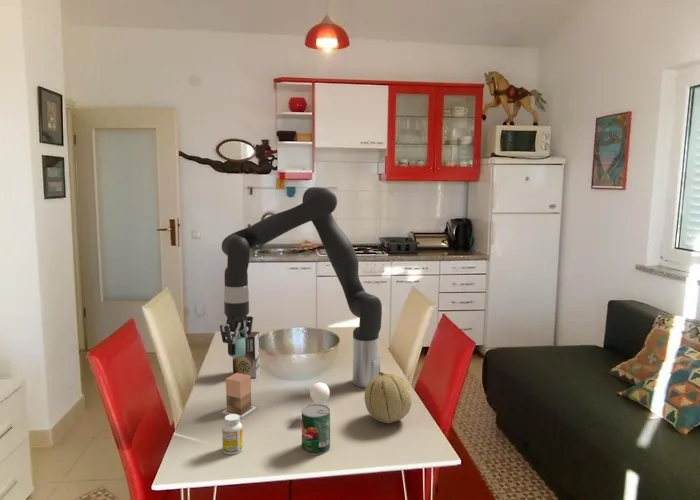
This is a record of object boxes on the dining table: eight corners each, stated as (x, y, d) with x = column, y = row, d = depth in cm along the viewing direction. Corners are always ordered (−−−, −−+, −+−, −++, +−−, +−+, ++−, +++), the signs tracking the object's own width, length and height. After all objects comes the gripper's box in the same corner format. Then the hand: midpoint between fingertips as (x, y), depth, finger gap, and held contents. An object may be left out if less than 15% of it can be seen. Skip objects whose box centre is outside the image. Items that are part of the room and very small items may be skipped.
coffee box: (260, 372, 201) (259, 331, 199) (256, 378, 195) (255, 336, 193) (237, 371, 202) (236, 330, 200) (232, 377, 196) (231, 335, 193)
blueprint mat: (261, 408, 169) (261, 406, 169) (242, 421, 160) (242, 419, 160) (236, 402, 174) (236, 400, 174) (216, 415, 165) (216, 412, 165)
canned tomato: (296, 451, 143) (296, 413, 141) (308, 438, 150) (308, 402, 149) (323, 457, 140) (323, 418, 139) (334, 443, 147) (334, 406, 146)
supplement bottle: (230, 457, 140) (229, 423, 139) (218, 450, 143) (217, 417, 142) (246, 449, 144) (246, 416, 143) (234, 443, 147) (233, 410, 146)
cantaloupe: (404, 435, 152) (405, 386, 150) (357, 426, 157) (357, 379, 155) (416, 413, 166) (417, 368, 164) (372, 406, 171) (372, 362, 169)
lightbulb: (332, 414, 166) (332, 380, 164) (325, 422, 160) (325, 388, 158) (314, 411, 168) (314, 378, 166) (307, 419, 162) (306, 385, 160)
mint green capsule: (248, 353, 166) (248, 338, 165) (239, 358, 161) (238, 342, 160) (235, 350, 168) (235, 335, 167) (225, 355, 163) (225, 340, 163)
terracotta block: (251, 391, 168) (250, 375, 167) (240, 398, 163) (240, 381, 162) (237, 388, 170) (236, 372, 169) (226, 395, 165) (225, 378, 164)
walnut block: (251, 408, 168) (251, 391, 168) (240, 415, 163) (240, 398, 163) (237, 405, 171) (237, 388, 170) (226, 411, 166) (226, 395, 165)
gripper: (231, 305, 154) (232, 361, 156) (260, 296, 167) (260, 347, 169) (211, 302, 157) (212, 357, 159) (240, 293, 170) (241, 344, 172)
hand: (237, 352), depth 164 cm, fingers closed on mint green capsule, 5 cm apart
